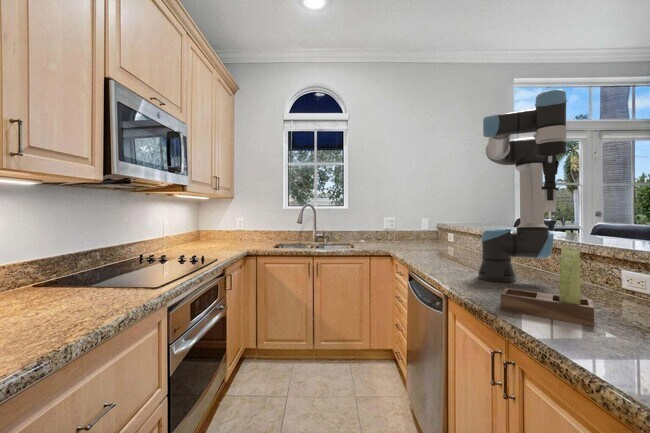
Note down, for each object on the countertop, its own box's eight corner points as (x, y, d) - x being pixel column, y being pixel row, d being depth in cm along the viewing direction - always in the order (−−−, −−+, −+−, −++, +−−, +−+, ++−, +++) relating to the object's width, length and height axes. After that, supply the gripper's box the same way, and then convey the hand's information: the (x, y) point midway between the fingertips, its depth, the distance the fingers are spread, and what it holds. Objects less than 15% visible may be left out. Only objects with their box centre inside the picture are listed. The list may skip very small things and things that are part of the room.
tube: (585, 314, 86) (585, 247, 86) (579, 318, 83) (579, 249, 83) (561, 309, 90) (561, 246, 90) (555, 312, 88) (555, 247, 87)
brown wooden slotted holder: (505, 302, 101) (505, 287, 101) (591, 315, 87) (591, 299, 87) (500, 309, 94) (500, 294, 94) (594, 326, 80) (594, 307, 80)
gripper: (537, 150, 103) (537, 210, 104) (533, 137, 84) (533, 212, 84) (565, 146, 98) (565, 210, 99) (567, 133, 79) (567, 212, 80)
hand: (550, 211), depth 92 cm, fingers open, 13 cm apart
